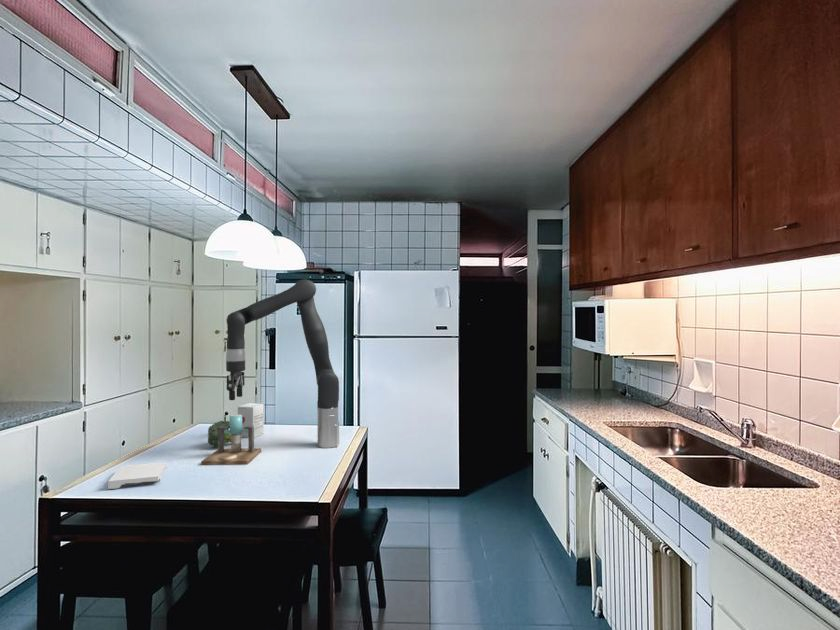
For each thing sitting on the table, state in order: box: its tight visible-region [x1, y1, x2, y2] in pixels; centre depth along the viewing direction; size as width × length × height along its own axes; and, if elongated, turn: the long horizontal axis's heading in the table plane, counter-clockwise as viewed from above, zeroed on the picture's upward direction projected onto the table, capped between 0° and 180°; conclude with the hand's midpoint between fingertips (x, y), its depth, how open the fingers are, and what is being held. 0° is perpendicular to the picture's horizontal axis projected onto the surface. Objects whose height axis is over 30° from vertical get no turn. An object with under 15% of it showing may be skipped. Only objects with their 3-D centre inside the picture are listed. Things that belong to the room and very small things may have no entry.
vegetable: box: [207, 420, 243, 449], centre depth 220 cm, size 12×13×15 cm
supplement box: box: [237, 402, 265, 439], centre depth 239 cm, size 9×9×15 cm
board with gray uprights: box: [200, 426, 262, 466], centre depth 201 cm, size 18×18×12 cm
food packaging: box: [107, 461, 167, 490], centre depth 177 cm, size 15×3×20 cm
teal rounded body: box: [224, 414, 248, 434], centre depth 205 cm, size 9×5×7 cm, turn 91°
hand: (235, 398), depth 205 cm, fingers open, 8 cm apart
